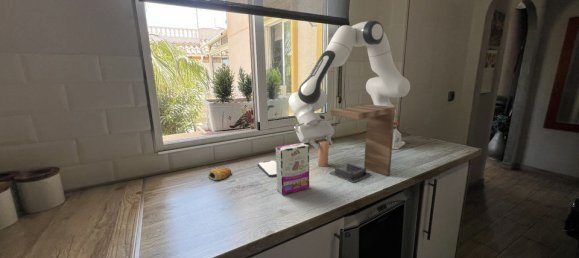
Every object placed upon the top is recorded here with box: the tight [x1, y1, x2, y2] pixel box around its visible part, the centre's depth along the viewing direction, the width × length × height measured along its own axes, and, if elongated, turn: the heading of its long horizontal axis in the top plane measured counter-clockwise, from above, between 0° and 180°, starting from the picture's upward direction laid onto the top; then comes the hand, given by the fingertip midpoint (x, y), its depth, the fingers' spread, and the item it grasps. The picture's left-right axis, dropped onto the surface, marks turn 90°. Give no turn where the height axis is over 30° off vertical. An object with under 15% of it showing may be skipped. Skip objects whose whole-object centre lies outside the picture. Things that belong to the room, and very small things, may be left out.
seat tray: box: [329, 162, 372, 184], centre depth 106 cm, size 12×12×3 cm
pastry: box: [207, 167, 232, 181], centre depth 105 cm, size 9×7×4 cm
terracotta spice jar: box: [317, 140, 330, 168], centre depth 116 cm, size 4×4×11 cm
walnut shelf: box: [330, 104, 396, 177], centre depth 100 cm, size 24×12×28 cm, turn 130°
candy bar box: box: [275, 142, 310, 196], centre depth 91 cm, size 11×5×16 cm, turn 118°
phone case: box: [257, 160, 277, 178], centre depth 112 cm, size 9×2×16 cm
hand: (324, 146), depth 115 cm, fingers open, 7 cm apart
